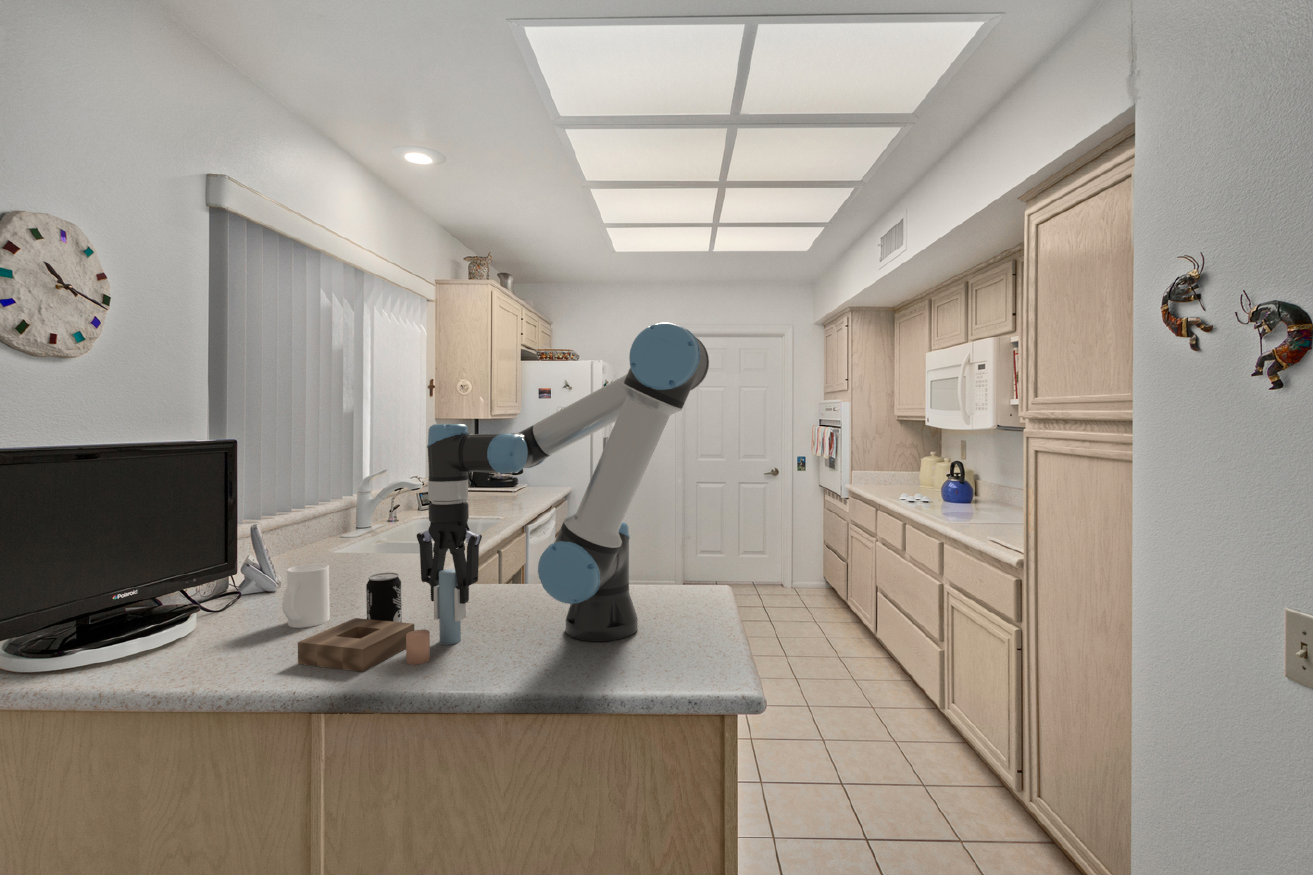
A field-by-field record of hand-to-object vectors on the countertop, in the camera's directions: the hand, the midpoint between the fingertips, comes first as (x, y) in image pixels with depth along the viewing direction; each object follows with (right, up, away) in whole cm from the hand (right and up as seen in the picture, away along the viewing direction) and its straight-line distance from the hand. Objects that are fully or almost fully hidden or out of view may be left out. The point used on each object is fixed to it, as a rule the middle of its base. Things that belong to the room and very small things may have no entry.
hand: (450, 618), depth 120 cm
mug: (-35, -5, +10) cm, 37 cm away
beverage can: (-15, -5, +5) cm, 17 cm away
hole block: (-15, -5, -6) cm, 17 cm away
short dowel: (-3, -5, -10) cm, 11 cm away
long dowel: (0, -5, 0) cm, 5 cm away
